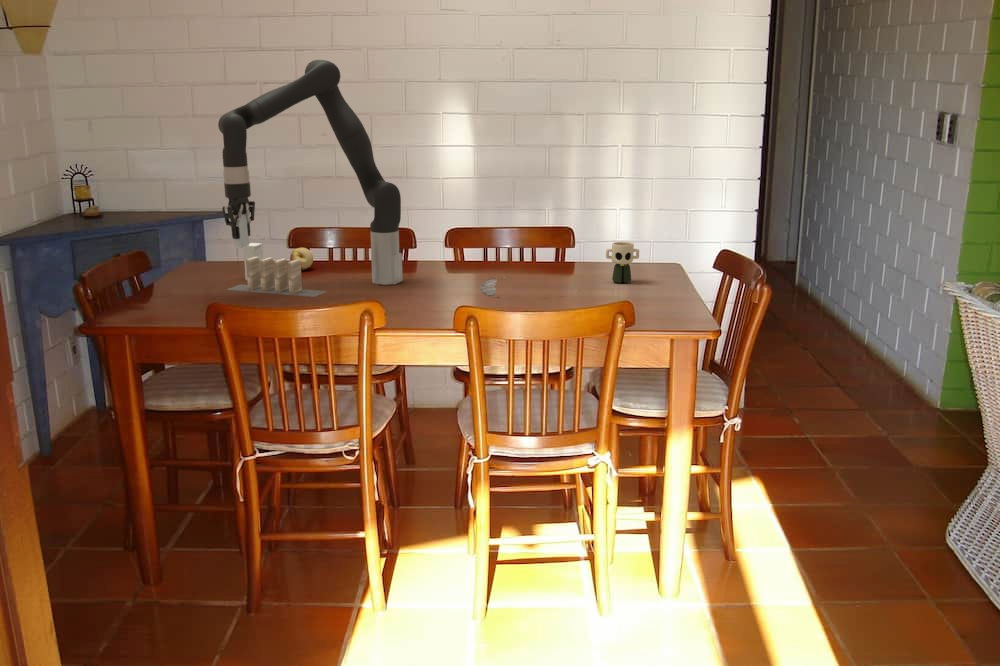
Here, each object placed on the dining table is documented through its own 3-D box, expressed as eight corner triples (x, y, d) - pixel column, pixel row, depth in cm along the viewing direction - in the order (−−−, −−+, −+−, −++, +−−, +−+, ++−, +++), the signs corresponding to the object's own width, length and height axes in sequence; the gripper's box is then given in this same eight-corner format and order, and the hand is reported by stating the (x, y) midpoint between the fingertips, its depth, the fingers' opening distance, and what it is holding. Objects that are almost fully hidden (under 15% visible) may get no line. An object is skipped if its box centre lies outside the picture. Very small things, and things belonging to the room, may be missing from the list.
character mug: (606, 284, 314) (607, 245, 310) (604, 279, 320) (605, 241, 317) (639, 284, 313) (640, 245, 310) (636, 280, 320) (638, 241, 317)
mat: (327, 292, 303) (327, 291, 303) (314, 298, 296) (314, 296, 296) (240, 285, 313) (240, 284, 313) (226, 290, 306) (226, 289, 306)
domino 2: (261, 287, 309) (259, 256, 306) (252, 290, 304) (250, 259, 302) (256, 286, 309) (254, 256, 307) (248, 290, 305) (245, 259, 302)
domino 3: (274, 288, 307) (272, 257, 305) (266, 291, 303) (264, 260, 300) (270, 288, 308) (268, 257, 305) (261, 291, 303) (259, 260, 301)
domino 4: (288, 289, 306) (286, 258, 303) (279, 292, 301) (277, 261, 298) (283, 289, 306) (281, 258, 304) (275, 292, 302) (273, 261, 299)
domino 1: (249, 245, 295) (246, 213, 292) (239, 248, 290) (236, 215, 287) (244, 245, 295) (241, 212, 292) (235, 247, 291) (232, 215, 288)
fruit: (286, 271, 335) (285, 248, 333) (300, 267, 343) (298, 245, 341) (305, 273, 333) (303, 250, 330) (318, 268, 340) (316, 246, 338)
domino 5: (302, 290, 304) (300, 259, 301) (293, 293, 300) (291, 262, 297) (297, 290, 305) (295, 259, 302) (289, 293, 300) (287, 262, 297)
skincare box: (257, 281, 319) (254, 246, 316) (245, 281, 320) (242, 245, 317) (264, 277, 325) (262, 243, 322) (253, 277, 326) (250, 242, 323)
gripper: (233, 184, 279) (238, 242, 284) (261, 179, 292) (265, 234, 297) (211, 183, 282) (217, 240, 287) (240, 178, 295) (244, 233, 300)
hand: (241, 237), depth 292 cm, fingers closed on domino 1, 5 cm apart
